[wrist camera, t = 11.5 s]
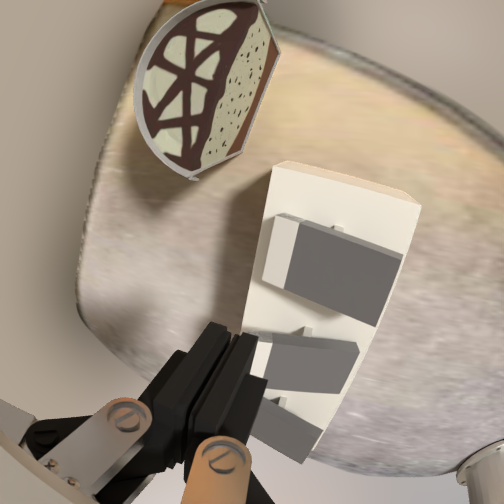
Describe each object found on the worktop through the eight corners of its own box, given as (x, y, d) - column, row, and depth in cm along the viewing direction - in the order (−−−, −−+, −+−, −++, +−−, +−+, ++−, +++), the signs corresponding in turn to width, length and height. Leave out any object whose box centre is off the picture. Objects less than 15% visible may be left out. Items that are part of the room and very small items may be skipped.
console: (403, 191, 24) (426, 210, 17) (319, 411, 34) (311, 459, 27) (283, 159, 26) (265, 166, 19) (235, 388, 35) (215, 432, 29)
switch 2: (356, 341, 22) (360, 352, 21) (336, 383, 24) (339, 394, 23) (249, 329, 22) (248, 340, 21) (239, 374, 24) (238, 385, 22)
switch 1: (403, 254, 17) (401, 260, 16) (378, 318, 19) (375, 327, 18) (284, 212, 21) (275, 215, 20) (270, 274, 22) (262, 279, 21)
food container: (221, 21, 22) (167, -23, 13) (287, 37, 22) (259, -12, 13) (175, 145, 27) (105, 153, 18) (236, 168, 27) (184, 186, 18)
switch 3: (323, 430, 23) (317, 439, 22) (307, 456, 25) (301, 464, 24) (245, 386, 27) (237, 393, 26) (238, 415, 29) (230, 422, 28)
